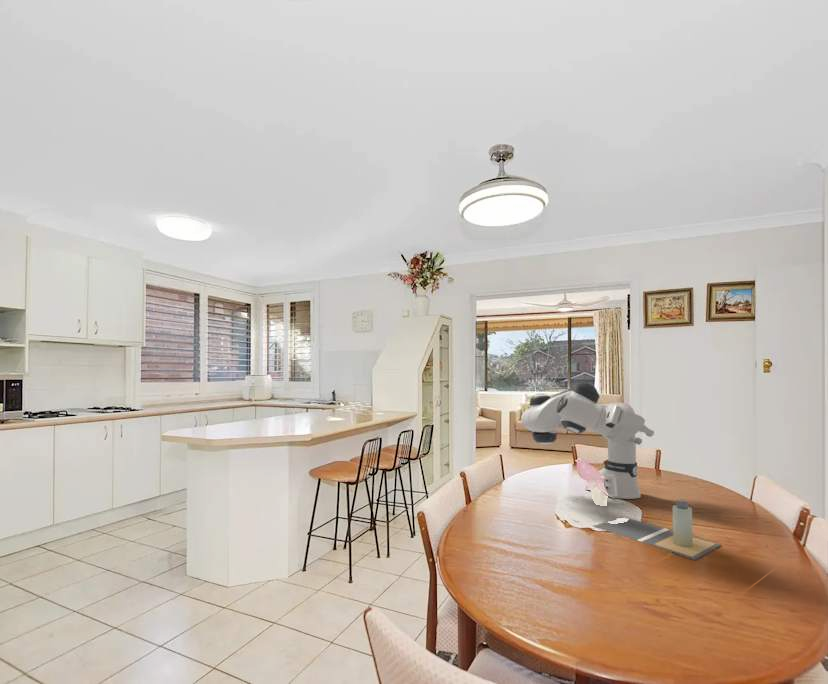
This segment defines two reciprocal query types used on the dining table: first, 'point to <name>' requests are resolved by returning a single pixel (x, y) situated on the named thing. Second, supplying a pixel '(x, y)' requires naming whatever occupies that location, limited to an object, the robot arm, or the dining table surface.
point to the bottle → (682, 524)
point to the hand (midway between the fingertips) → (646, 438)
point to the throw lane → (659, 538)
